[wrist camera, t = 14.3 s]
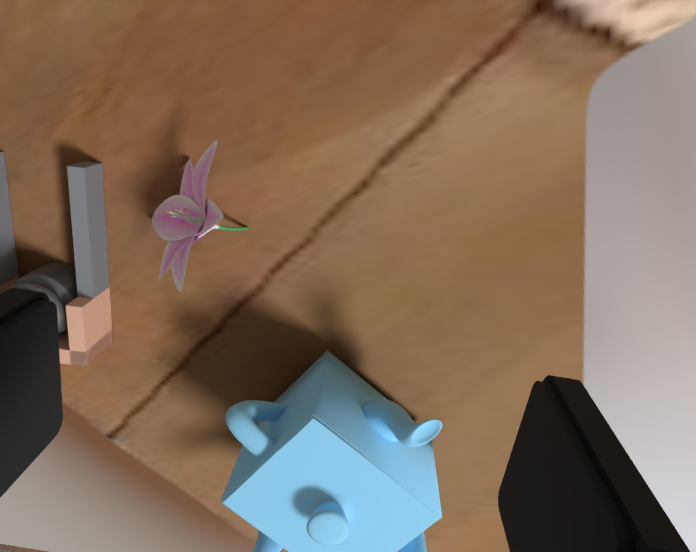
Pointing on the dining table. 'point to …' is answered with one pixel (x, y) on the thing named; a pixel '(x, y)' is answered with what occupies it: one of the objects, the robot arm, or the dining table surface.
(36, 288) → the candle holder
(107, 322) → the guide channel
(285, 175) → the dining table surface
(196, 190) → the lily
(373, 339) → the dining table surface
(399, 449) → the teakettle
